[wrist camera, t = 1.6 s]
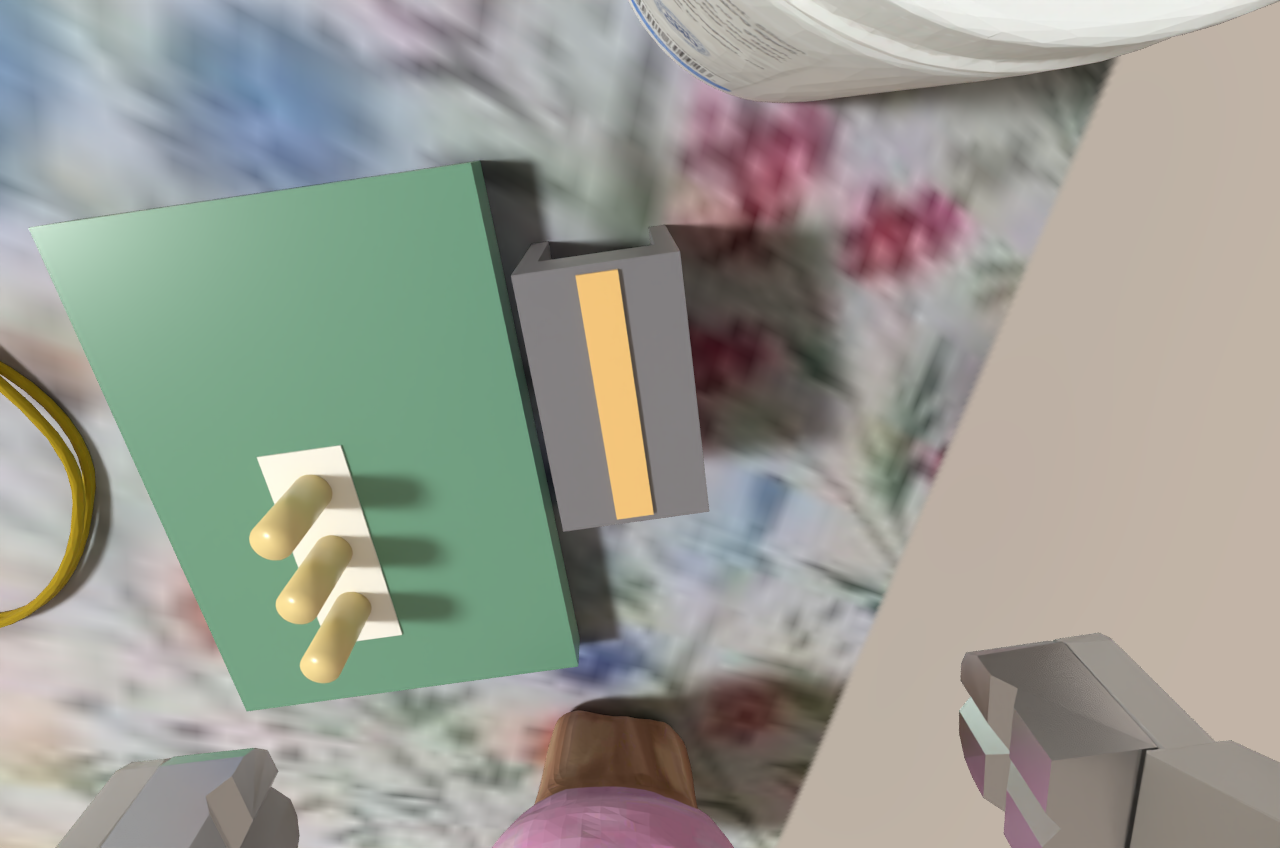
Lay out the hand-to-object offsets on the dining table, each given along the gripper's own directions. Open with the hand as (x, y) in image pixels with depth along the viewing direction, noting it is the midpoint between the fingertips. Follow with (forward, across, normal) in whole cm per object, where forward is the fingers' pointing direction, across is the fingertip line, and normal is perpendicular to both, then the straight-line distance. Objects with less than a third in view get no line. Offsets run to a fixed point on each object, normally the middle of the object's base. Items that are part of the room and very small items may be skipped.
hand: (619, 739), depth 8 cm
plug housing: (+16, 0, 0) cm, 16 cm away
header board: (+15, +9, +2) cm, 18 cm away
